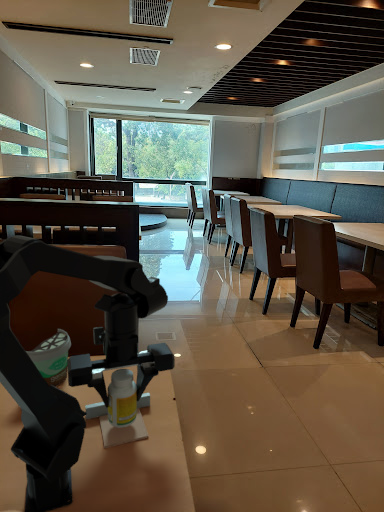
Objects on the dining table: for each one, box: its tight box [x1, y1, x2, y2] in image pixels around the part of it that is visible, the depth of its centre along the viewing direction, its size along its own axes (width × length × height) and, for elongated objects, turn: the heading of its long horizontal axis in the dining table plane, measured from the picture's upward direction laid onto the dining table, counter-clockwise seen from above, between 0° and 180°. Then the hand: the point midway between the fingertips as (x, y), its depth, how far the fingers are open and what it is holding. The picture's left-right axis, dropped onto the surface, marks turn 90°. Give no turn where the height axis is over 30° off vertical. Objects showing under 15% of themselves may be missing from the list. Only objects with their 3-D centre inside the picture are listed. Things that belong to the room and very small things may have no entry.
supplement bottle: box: [107, 368, 137, 428], centre depth 64 cm, size 5×5×10 cm
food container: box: [25, 328, 72, 387], centre depth 79 cm, size 12×6×10 cm, turn 164°
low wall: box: [84, 392, 151, 420], centre depth 70 cm, size 1×13×2 cm, turn 111°
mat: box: [99, 408, 149, 449], centre depth 66 cm, size 8×8×1 cm
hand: (122, 402), depth 65 cm, fingers closed on supplement bottle, 5 cm apart
